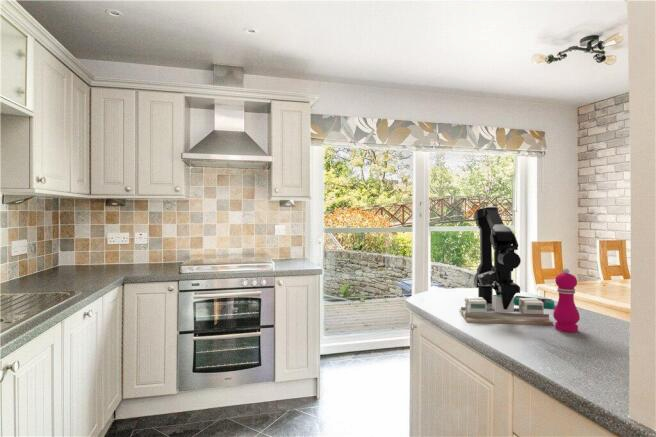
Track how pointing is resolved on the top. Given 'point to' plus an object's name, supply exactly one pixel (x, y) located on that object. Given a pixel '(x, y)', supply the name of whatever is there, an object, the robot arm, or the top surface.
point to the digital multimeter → (547, 302)
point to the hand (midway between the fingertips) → (502, 307)
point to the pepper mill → (566, 303)
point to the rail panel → (525, 314)
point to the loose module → (498, 304)
